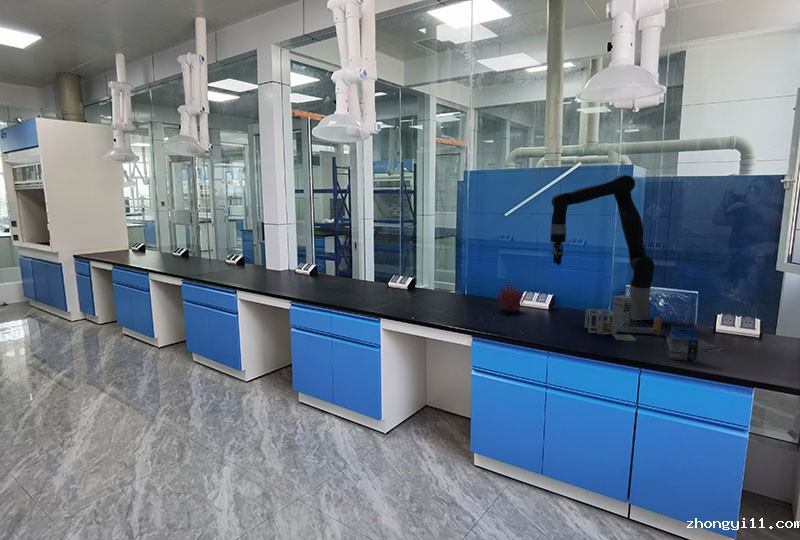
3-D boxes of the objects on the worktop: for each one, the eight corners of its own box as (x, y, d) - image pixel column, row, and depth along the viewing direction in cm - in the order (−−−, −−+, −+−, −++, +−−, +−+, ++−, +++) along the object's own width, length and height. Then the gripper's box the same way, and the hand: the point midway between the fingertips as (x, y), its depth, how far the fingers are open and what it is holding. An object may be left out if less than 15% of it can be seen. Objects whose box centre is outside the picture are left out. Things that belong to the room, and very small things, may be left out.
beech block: (607, 330, 213) (608, 320, 213) (610, 333, 209) (611, 323, 208) (596, 330, 214) (597, 319, 214) (598, 333, 210) (599, 322, 209)
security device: (731, 357, 178) (732, 352, 178) (666, 348, 189) (667, 343, 189) (726, 346, 193) (726, 341, 193) (666, 338, 204) (666, 334, 204)
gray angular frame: (612, 329, 215) (613, 310, 214) (617, 335, 206) (619, 314, 205) (584, 328, 218) (585, 308, 216) (588, 333, 208) (589, 313, 207)
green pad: (631, 336, 204) (631, 335, 204) (636, 341, 196) (636, 340, 196) (612, 335, 206) (612, 334, 206) (616, 340, 198) (616, 339, 198)
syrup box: (622, 327, 219) (624, 298, 217) (611, 324, 224) (613, 295, 222) (629, 325, 222) (632, 297, 219) (619, 323, 227) (621, 294, 225)
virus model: (493, 313, 247) (494, 286, 245) (498, 307, 261) (499, 281, 258) (521, 315, 242) (522, 288, 239) (524, 309, 255) (525, 283, 253)
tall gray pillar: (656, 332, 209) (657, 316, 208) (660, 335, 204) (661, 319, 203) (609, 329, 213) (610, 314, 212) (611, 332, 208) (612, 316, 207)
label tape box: (669, 359, 174) (672, 328, 172) (667, 356, 178) (670, 326, 176) (696, 362, 171) (699, 331, 169) (693, 359, 175) (696, 328, 173)
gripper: (568, 233, 228) (567, 265, 230) (562, 232, 242) (561, 262, 244) (553, 233, 229) (552, 265, 231) (548, 232, 243) (547, 262, 245)
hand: (557, 263), depth 238 cm, fingers open, 8 cm apart
